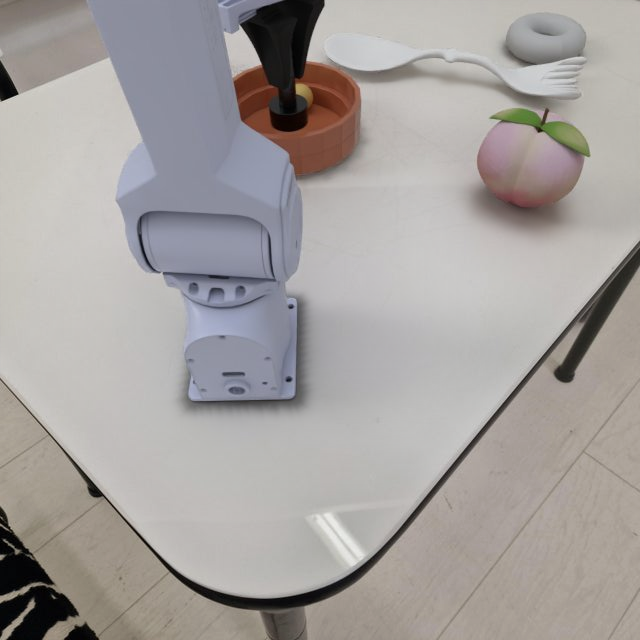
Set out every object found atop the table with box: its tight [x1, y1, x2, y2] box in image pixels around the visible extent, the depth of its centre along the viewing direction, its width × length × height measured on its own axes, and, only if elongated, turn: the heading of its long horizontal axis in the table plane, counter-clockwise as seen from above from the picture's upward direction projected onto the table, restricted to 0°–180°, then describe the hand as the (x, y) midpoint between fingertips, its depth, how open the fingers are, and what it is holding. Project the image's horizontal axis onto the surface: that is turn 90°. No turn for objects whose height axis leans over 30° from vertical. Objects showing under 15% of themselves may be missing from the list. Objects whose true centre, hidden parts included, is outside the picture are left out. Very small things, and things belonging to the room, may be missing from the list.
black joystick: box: [269, 37, 308, 132], centre depth 50 cm, size 4×4×9 cm
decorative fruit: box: [476, 107, 591, 208], centre depth 47 cm, size 9×8×10 cm
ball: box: [296, 84, 313, 109], centre depth 60 cm, size 3×3×3 cm
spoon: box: [322, 31, 588, 101], centre depth 64 cm, size 9×32×4 cm, turn 69°
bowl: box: [232, 60, 362, 176], centre depth 56 cm, size 15×15×5 cm
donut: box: [505, 12, 587, 65], centre depth 67 cm, size 10×4×10 cm
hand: (285, 80), depth 50 cm, fingers closed on black joystick, 2 cm apart
